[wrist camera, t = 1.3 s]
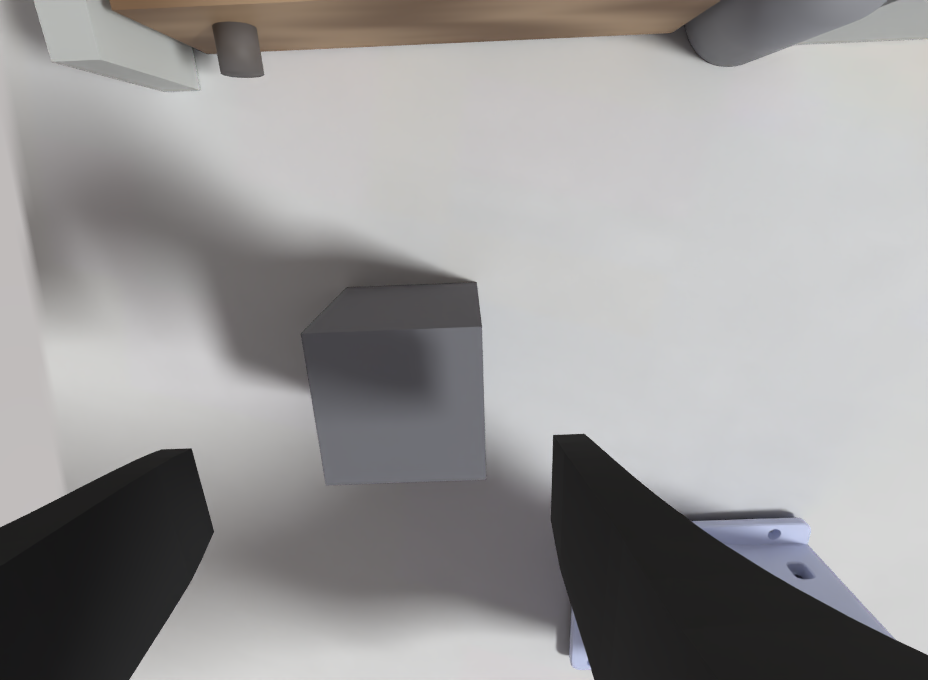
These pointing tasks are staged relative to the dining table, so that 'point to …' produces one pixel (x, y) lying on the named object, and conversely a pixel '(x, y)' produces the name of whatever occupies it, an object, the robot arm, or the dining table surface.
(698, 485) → the dining table surface
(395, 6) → the door
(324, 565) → the dining table surface
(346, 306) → the block
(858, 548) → the dining table surface
